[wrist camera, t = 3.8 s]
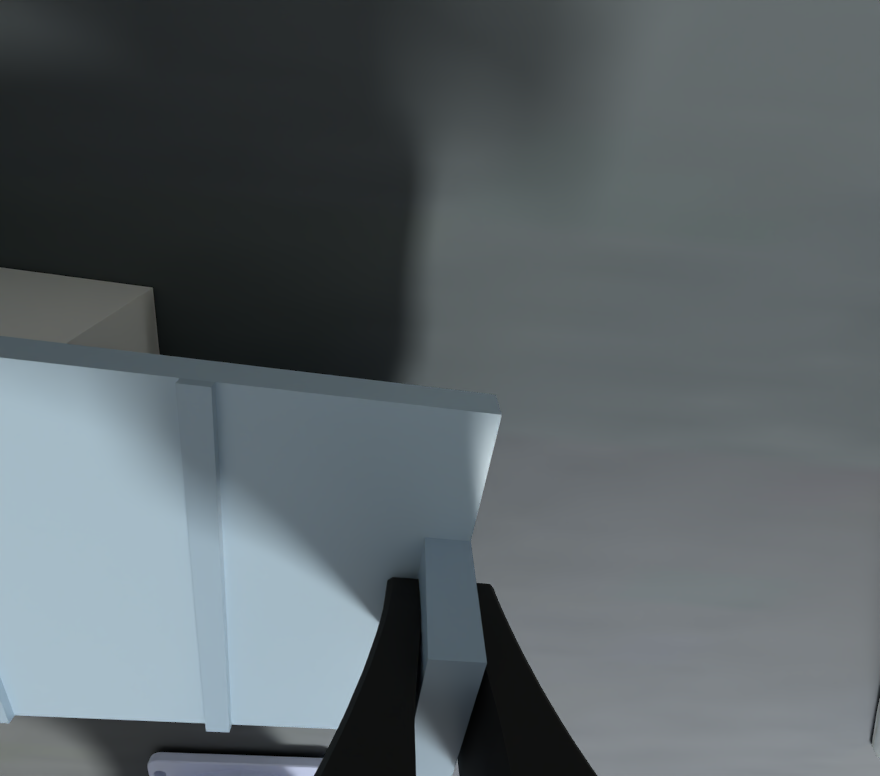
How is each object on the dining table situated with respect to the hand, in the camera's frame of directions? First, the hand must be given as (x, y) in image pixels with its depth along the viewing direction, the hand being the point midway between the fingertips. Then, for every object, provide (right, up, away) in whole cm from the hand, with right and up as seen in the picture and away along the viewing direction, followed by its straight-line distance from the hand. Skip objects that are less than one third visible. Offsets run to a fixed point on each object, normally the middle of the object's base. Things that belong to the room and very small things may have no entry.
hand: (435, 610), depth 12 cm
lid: (-8, +1, 0) cm, 8 cm away
